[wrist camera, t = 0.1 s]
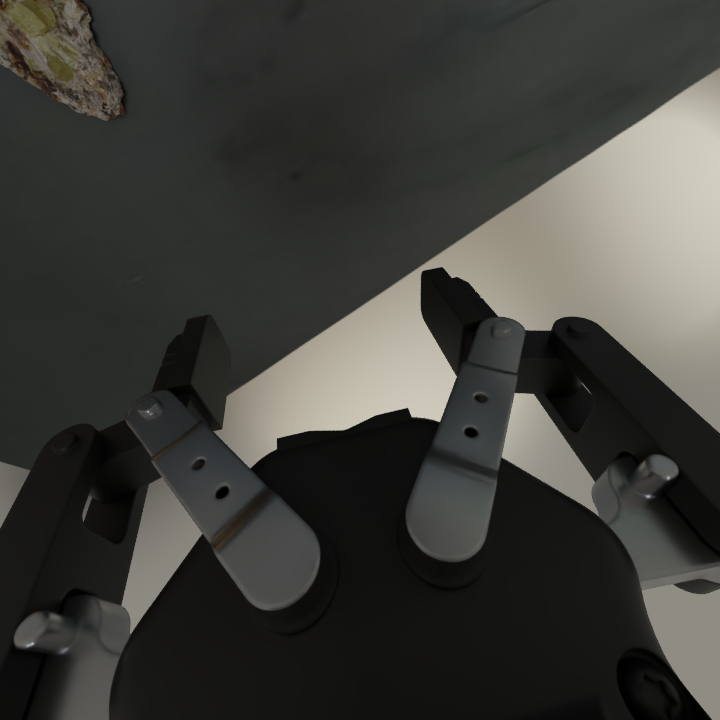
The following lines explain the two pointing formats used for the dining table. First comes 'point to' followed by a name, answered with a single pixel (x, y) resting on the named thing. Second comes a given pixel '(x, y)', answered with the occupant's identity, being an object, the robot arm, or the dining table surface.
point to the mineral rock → (59, 54)
